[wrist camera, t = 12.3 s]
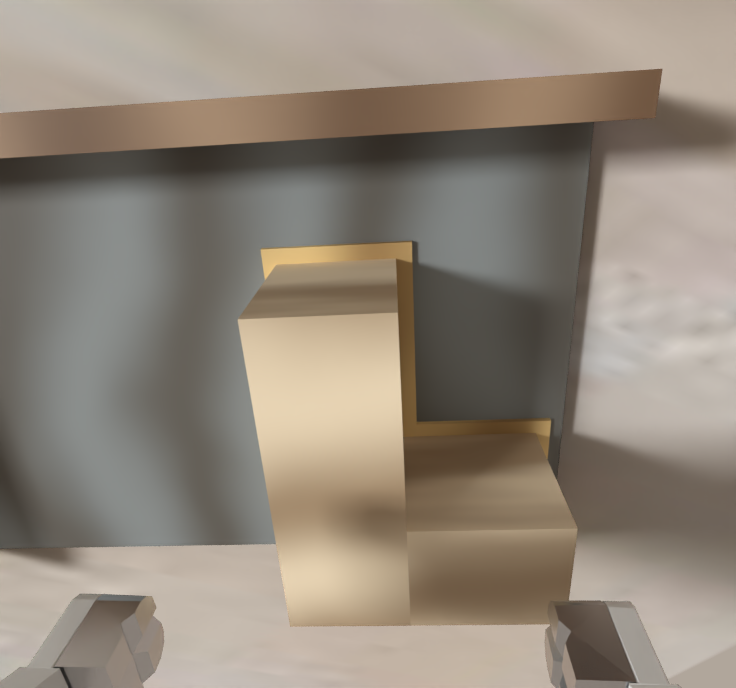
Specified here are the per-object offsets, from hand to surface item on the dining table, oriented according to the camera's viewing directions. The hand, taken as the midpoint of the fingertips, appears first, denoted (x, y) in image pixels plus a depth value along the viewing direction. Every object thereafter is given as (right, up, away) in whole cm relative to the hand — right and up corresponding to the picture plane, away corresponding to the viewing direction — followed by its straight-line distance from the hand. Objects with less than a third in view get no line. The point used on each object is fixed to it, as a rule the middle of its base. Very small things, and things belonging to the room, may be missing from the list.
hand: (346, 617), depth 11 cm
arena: (-6, +5, +9) cm, 12 cm away
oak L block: (+2, +3, +9) cm, 10 cm away
